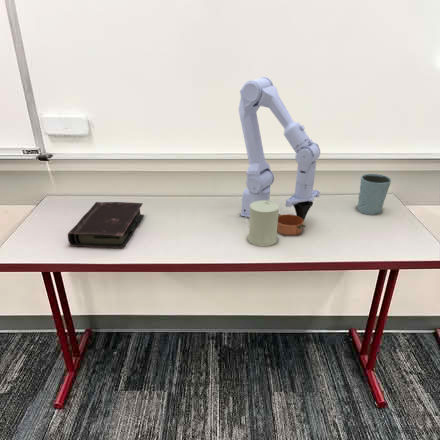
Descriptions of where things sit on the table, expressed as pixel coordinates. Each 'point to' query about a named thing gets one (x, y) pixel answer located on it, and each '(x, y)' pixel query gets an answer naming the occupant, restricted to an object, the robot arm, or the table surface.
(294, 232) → the pan
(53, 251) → the table surface
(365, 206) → the grey cylinder
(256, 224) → the can
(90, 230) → the diary
